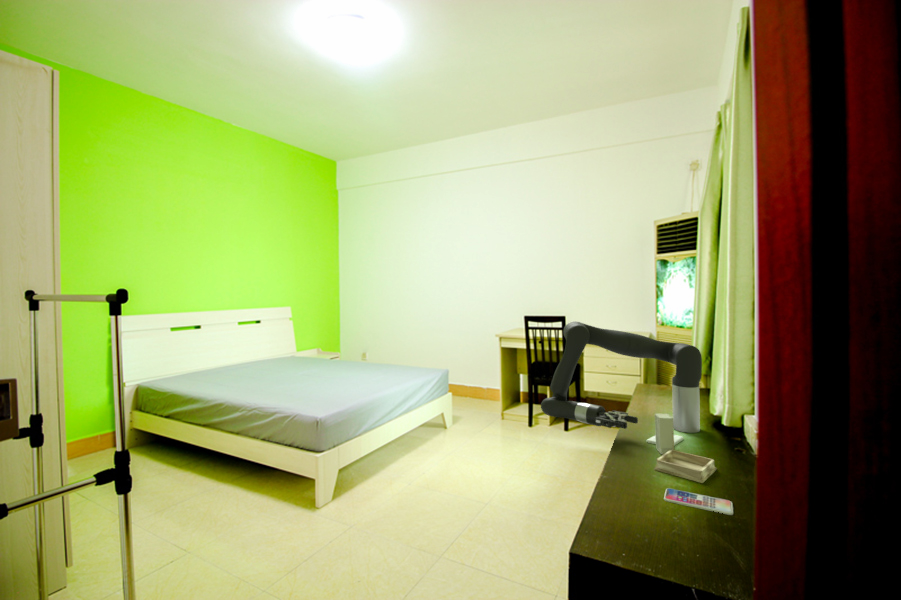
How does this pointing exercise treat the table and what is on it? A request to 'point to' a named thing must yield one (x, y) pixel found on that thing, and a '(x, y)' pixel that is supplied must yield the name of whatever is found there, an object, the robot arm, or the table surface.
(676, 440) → the external hard drive
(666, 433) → the skincare box
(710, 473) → the wooden tray
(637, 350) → the robot arm
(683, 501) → the smartphone
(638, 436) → the table surface
